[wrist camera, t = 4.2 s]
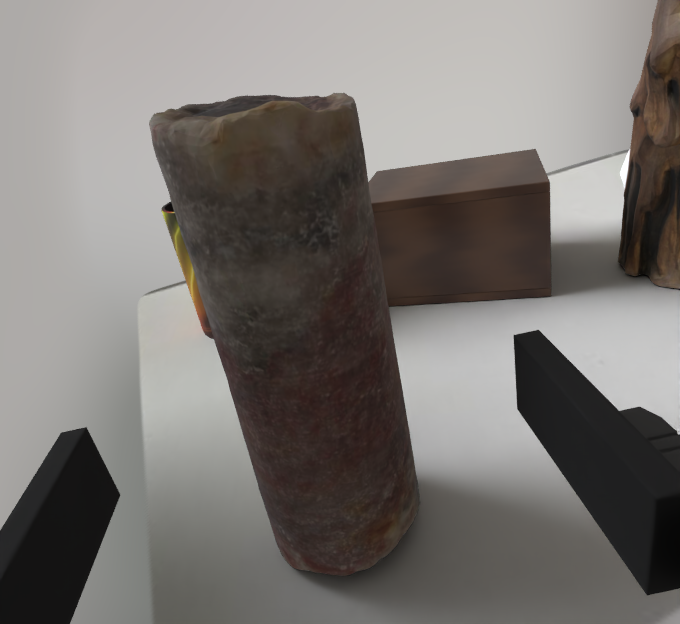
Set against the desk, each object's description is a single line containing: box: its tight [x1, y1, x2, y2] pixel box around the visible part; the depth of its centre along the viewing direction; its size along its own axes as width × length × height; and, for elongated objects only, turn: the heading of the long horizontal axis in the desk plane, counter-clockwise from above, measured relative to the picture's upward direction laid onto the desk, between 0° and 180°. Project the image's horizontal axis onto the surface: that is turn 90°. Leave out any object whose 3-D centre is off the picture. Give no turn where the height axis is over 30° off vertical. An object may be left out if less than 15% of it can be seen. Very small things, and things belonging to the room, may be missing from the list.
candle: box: [149, 93, 420, 576], centre depth 22 cm, size 8×7×20 cm
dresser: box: [368, 149, 551, 306], centre depth 48 cm, size 16×13×10 cm
